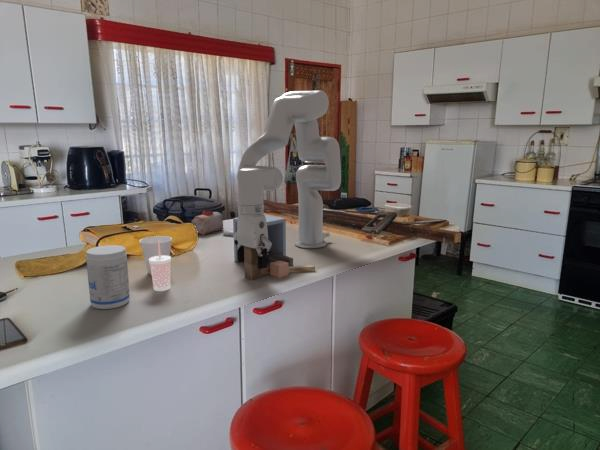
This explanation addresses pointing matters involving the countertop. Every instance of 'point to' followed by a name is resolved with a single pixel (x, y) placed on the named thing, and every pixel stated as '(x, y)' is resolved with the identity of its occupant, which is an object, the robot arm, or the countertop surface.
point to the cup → (155, 248)
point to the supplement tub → (108, 276)
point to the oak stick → (301, 268)
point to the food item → (208, 222)
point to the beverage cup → (160, 271)
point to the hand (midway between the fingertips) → (252, 264)
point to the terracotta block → (279, 269)
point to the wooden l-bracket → (252, 263)
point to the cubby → (270, 234)
